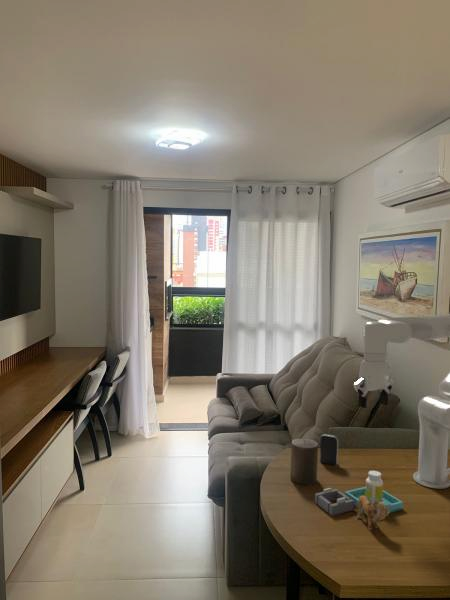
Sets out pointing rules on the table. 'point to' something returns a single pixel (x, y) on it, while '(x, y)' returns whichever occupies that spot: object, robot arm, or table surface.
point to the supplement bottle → (374, 487)
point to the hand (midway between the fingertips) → (373, 405)
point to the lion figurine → (371, 510)
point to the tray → (388, 500)
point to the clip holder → (341, 506)
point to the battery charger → (329, 449)
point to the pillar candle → (304, 461)
